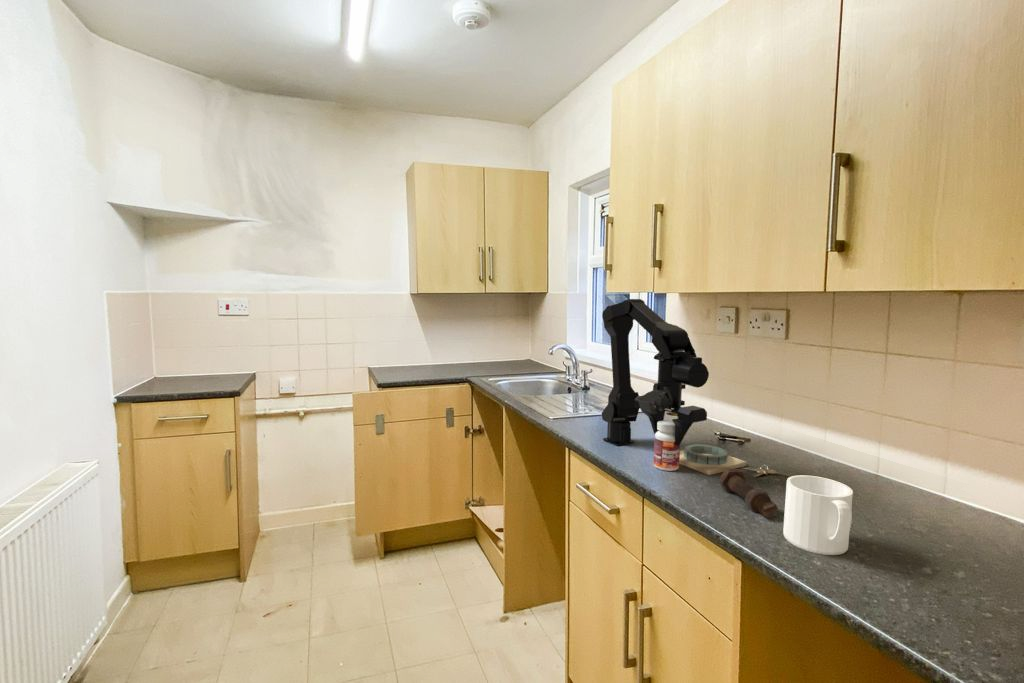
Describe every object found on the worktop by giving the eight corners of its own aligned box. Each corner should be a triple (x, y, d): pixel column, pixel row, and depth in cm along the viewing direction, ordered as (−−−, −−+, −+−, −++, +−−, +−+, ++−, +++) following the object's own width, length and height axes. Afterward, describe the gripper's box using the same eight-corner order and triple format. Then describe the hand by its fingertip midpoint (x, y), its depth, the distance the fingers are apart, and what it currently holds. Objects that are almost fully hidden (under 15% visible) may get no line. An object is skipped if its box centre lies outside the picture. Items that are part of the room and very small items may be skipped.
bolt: (765, 529, 100) (726, 495, 115) (788, 516, 100) (746, 484, 115) (753, 505, 99) (715, 474, 114) (776, 492, 99) (735, 463, 114)
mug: (772, 528, 96) (775, 475, 95) (824, 527, 97) (828, 475, 96) (813, 564, 84) (818, 503, 83) (873, 563, 84) (878, 503, 83)
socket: (665, 458, 135) (665, 447, 135) (701, 450, 142) (701, 439, 142) (709, 475, 123) (710, 463, 123) (746, 465, 130) (747, 454, 130)
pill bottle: (662, 472, 125) (664, 427, 123) (648, 464, 131) (650, 420, 129) (684, 470, 127) (686, 425, 125) (669, 462, 132) (671, 419, 131)
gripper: (619, 376, 130) (617, 436, 132) (676, 389, 114) (673, 457, 116) (651, 373, 136) (648, 430, 137) (710, 385, 120) (706, 450, 121)
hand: (667, 441), depth 128 cm, fingers closed on pill bottle, 6 cm apart
